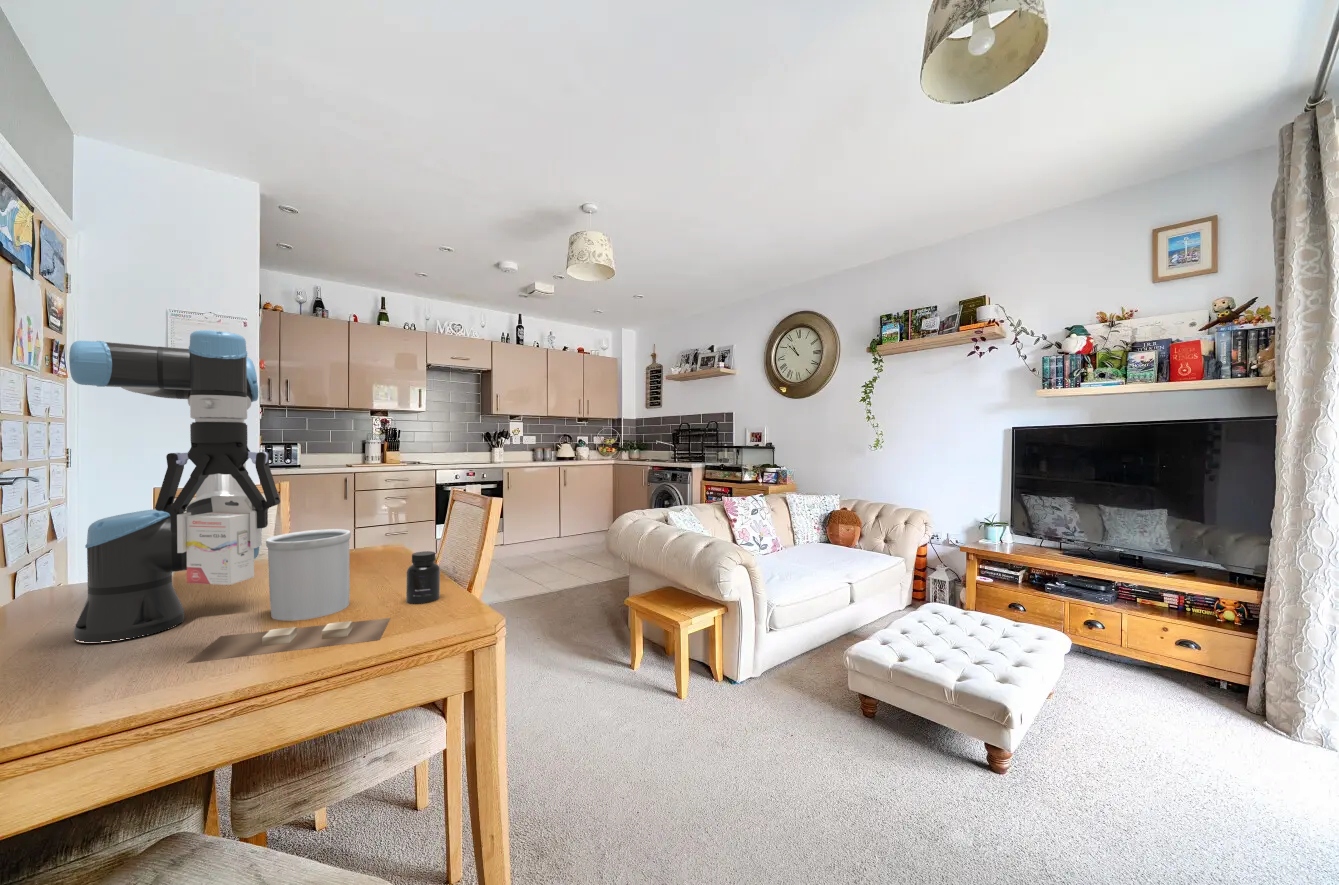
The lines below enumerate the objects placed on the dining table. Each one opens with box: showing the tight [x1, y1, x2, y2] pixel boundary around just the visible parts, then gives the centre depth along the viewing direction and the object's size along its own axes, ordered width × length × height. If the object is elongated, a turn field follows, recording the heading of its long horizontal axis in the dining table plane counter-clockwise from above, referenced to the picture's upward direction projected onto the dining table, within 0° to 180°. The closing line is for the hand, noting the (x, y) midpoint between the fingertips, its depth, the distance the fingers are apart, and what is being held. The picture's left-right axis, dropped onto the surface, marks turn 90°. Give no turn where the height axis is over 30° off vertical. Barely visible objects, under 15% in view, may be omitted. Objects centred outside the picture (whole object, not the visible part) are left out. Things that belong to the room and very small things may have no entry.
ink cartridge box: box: [186, 496, 255, 586], centre depth 90 cm, size 9×5×15 cm, turn 84°
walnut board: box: [186, 617, 391, 664], centre depth 95 cm, size 28×12×2 cm, turn 110°
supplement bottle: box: [406, 550, 441, 605], centre depth 117 cm, size 7×7×12 cm
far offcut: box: [322, 620, 353, 639], centre depth 97 cm, size 4×4×2 cm
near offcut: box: [262, 626, 298, 646], centre depth 94 cm, size 4×4×2 cm
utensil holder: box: [265, 528, 351, 622], centre depth 110 cm, size 15×15×18 cm
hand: (221, 549), depth 90 cm, fingers closed on ink cartridge box, 9 cm apart
